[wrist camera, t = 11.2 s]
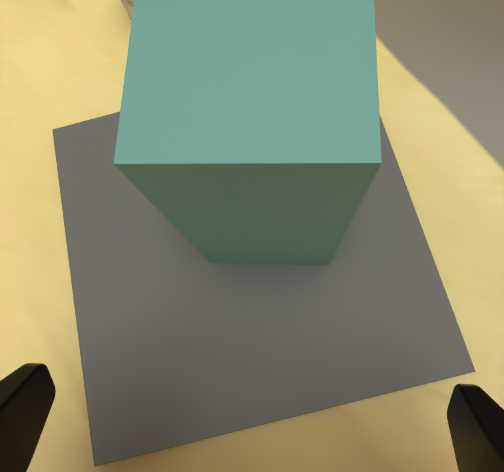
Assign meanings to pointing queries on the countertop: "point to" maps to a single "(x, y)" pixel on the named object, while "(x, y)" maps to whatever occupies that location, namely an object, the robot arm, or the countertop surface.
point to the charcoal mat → (239, 312)
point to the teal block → (252, 122)
